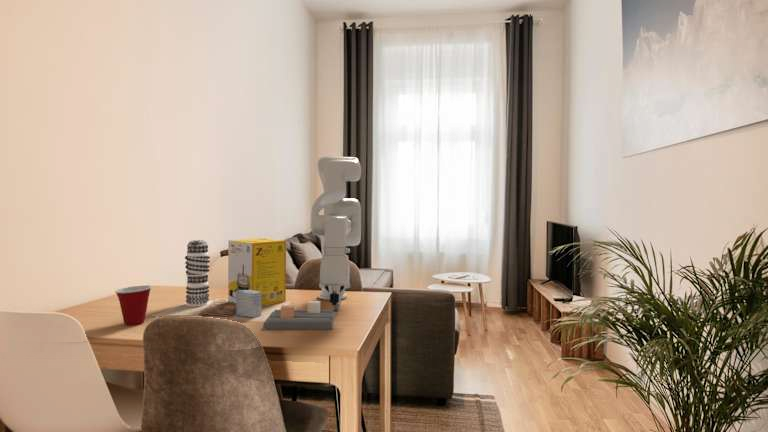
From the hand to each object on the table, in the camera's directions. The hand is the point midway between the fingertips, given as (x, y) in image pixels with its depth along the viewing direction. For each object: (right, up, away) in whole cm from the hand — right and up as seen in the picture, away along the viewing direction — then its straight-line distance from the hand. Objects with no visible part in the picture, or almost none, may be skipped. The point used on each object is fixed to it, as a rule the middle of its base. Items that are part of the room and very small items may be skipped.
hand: (334, 304), depth 159 cm
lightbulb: (-1, -5, +15) cm, 16 cm away
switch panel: (-11, -6, -3) cm, 13 cm away
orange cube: (-15, -3, -7) cm, 17 cm away
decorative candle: (-56, -4, +22) cm, 60 cm away
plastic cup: (-66, -5, -7) cm, 66 cm away
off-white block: (-7, -3, 0) cm, 8 cm away
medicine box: (-31, -5, +6) cm, 32 cm away
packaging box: (-34, -4, +28) cm, 44 cm away
